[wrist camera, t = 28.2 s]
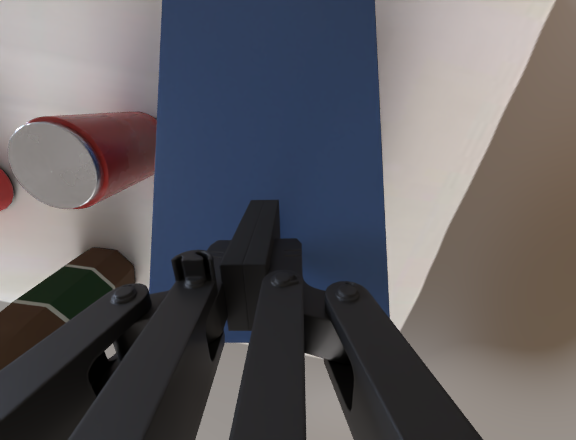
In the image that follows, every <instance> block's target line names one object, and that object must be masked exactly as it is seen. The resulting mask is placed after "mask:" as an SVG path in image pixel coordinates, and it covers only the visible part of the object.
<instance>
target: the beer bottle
mask: <svg viewBox="0 0 576 440" xmlns="http://www.w3.org/2000/svg"><path fill="white" fill-rule="evenodd" d="M132 283H135V275H134V266H133V265H132V264H131V263H130V262H129V261H128V260H127V259H126V258H125V257H124V256H123V255H122V254H121V253H119V252H118V251H117V250H110V249H103V248H96V247H93V248H91V249H89V250H87V251H86V252H84V253H82V254H81V255H80V256H78V257H77V258H75V259H74V260H72V261H71V262H70V263H68V264H67V265H65V266H64V267H62V268H61V269H60V270H58V271H57V272H55V273H54V274H52V275H51V276H49V277H48V278H47V279H45V280H44V281H42V282H41V283H39V284H38V285H37V286H35V287H34V288H32V289H31V290H29V291H28V292H27V293H25V294H24V295H22V296H21V297H19V298H18V299H17V300H15V301H14V302H12V303H11V304H10V305H9V306H7V307H6V308H5V309H4V310H2V311H1V312H0V370H1V369H3V368H4V367H6V366H7V365H8V364H10V363H11V362H13V361H14V360H15V359H17V358H18V357H19V356H21V355H22V354H24V353H25V352H26V351H28V350H29V349H30V348H32V347H33V346H35V345H36V344H37V343H39V342H40V341H42V340H43V339H44V338H46V337H47V336H48V335H50V334H51V333H53V332H54V331H55V330H57V329H58V328H60V327H61V326H62V325H64V324H65V323H66V322H68V321H69V320H71V319H72V318H73V317H75V316H76V315H78V314H79V313H80V312H82V311H83V310H84V309H86V308H87V307H89V306H90V305H91V304H93V303H94V302H96V301H97V300H98V299H100V298H101V297H102V296H104V295H105V294H107V293H108V292H110V291H112V290H113V289H115V288H118V287H120V286H122V285H126V284H132Z"/></svg>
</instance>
